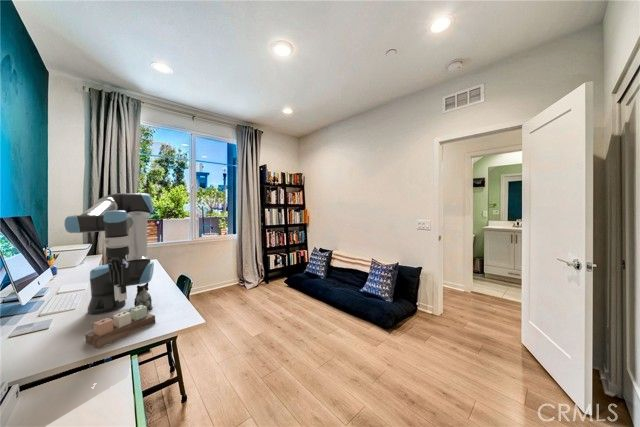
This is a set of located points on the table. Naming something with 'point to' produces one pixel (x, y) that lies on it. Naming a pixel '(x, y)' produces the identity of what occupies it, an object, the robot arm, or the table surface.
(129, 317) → the tile two
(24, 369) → the table surface
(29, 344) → the table surface
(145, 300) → the figurine
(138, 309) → the tile three
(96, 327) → the pink toy block
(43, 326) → the table surface
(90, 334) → the board
